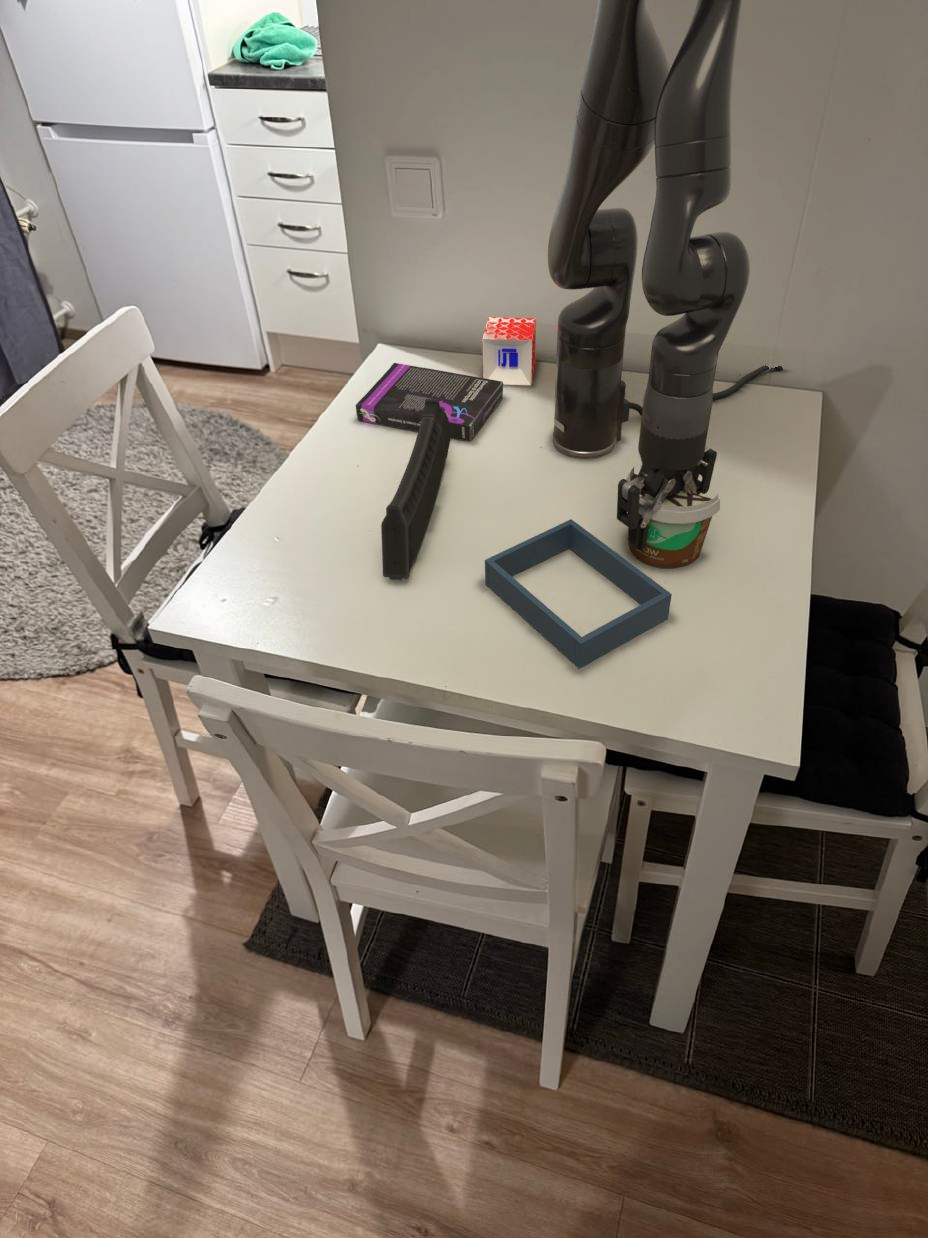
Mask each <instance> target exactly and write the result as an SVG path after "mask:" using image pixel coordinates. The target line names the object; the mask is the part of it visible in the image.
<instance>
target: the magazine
mask: <svg viewBox="0 0 928 1238" xmlns="http://www.w3.org/2000/svg"><path fill="white" fill-rule="evenodd" d="M451 440H452V438H451V434H450V427H449V420H448V417H447V415H446V413H445V410H444V409H442V408H441V407H440V404H439V400H437V399H426V400H425V408H424V412H423V415H422V421H421V424H420V427H419V431H418V432H417V435H416V438H415V442H414V445H413V449H412V451H411V453H410V457H409V460H408V463H407V465H406V467H405V470H404V473H403V476H402V477H401V480H400V482H399V485H398V487H397V490H396V492H395V494H394V496H393V498H392V499H391V502H390V503H389V504H388V505H387V506H386V508H385V511H386V512H385V514H386V515H385V516H384V518H383V520H382V521H381V525H380V527H381V528H380V529H381V533H380V534H381V555H382V556H381V558H382V559H381V560H382V561H381V563H382V577H383V578H385V579H386V578H387V579H388V578H389V580H395V581H396V580H397V581H402V580H409V577H410V573H411V570H412V568H413V567H414V566H413V565H414V563H415V561H416V558H417V556H418V553H419V551H420V548H421V546H422V543H423V541H424V538H425V535H426V532H427V530H428V527H429V523H430V521H431V519H432V518H431V517H432V516H433V515H432V514H433V512H434V508H435V505H436V501H437V498H438V494H439V490H440V487H441V483H442V478H443V474H444V471H445V466H446V462H447V458H448V454H449V449H450V444H451Z"/></svg>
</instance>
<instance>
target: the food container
mask: <svg viewBox="0 0 928 1238" xmlns="http://www.w3.org/2000/svg"><path fill="white" fill-rule="evenodd" d="M637 477H638V473H635V465H634V466H632V468H631V469H630V471H629V472H628V474H627V476H626V478H625V479H626V480H627V481H631V480H633V479H635V478H637ZM719 495H720V494H719V493H717V494H716V495H715V496H714V497H713V498H711V497H707V496H703V495H701V494H699V495H698V494H695V493H692V494H691V495H689V494H687V493H686V492H684V491H683V490H682V489H681V491H680V492H679V493H677V494H673V495H670V496H669V497H668V498H666V499H665V500H664V502H663V504H662V505H661V508H660V510H659V511H657V512H654V513H653V515H652V517H651V519H650V521H649V523H648V526H649V527H648V535H647V542H646V548H645V549H643V550H641V551H640V550H638V549H637V548H635V547H634V546H632V545H631V544H630V543H629V542H627V543H628V544H627V545H628V548H629V551H630V553H631V554H632V556H634V557H635V559H637V560H638V561H639V562H641V563H643V564H645V565H647V566H648V567H649V566H650V567H653V568H657V569H665V570H667V569H669V570H670V569H671V570H672V569H679V568H684V567H687V566H689V565H692V564H693V563H694V562H695V561H697V560H698V559H699V558H700V556H701V552H702V549H703V546H704V543H705V540H706V537H707V535H708V531H709V528H710V525H711V522H712V519H713V516H715V515H716V514H718V513H719V511H721V499H720V498H719ZM642 497H643V496H642ZM645 497H646V498H647V499H646V498H645ZM645 497H643V498H644V499H646V500H648V501H649V502H651V503H652V502H653V501H654V499H655V498H653V497H652V496H650V495H649V494H648V493H647V492H646V493H645ZM644 512H645V507H644V506H642V505H641V504H640V506H639V514H640V515H642V516H643V514H644ZM627 530H628V531H627V532H628V533H627V535H629V527H627Z"/></svg>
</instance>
